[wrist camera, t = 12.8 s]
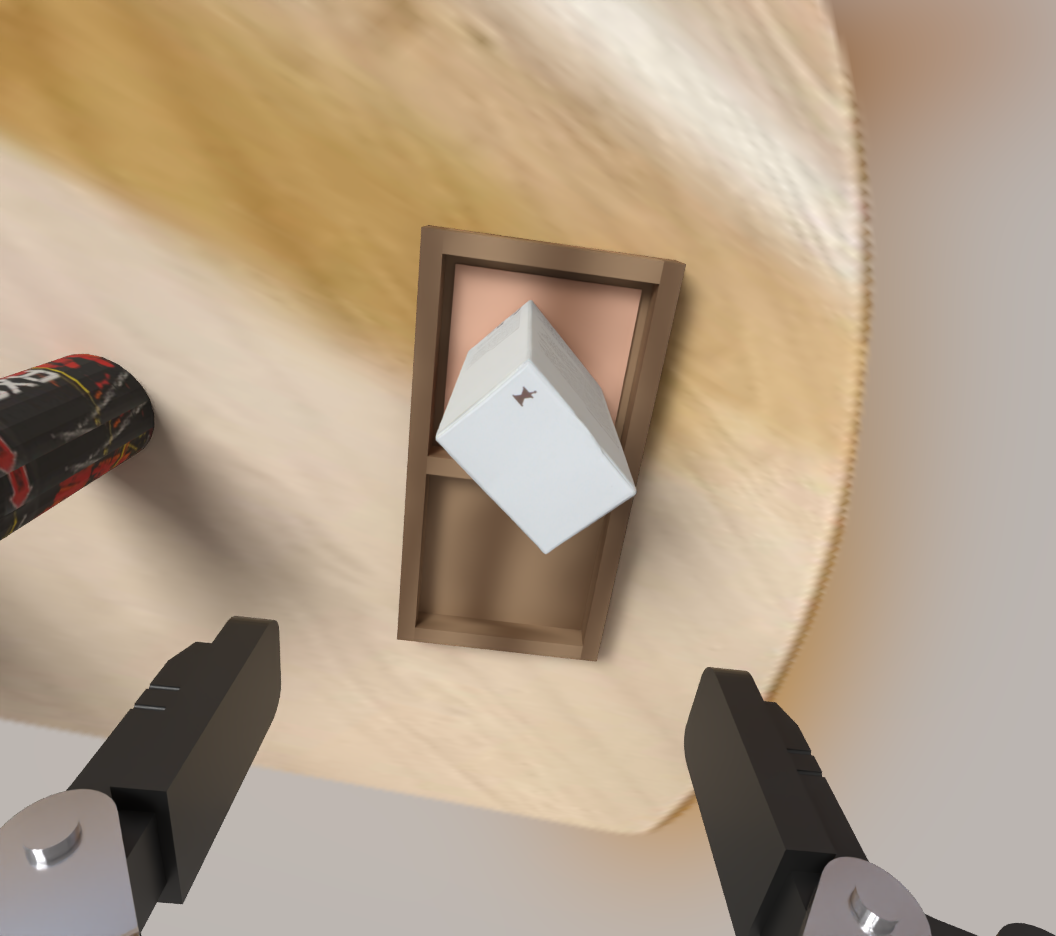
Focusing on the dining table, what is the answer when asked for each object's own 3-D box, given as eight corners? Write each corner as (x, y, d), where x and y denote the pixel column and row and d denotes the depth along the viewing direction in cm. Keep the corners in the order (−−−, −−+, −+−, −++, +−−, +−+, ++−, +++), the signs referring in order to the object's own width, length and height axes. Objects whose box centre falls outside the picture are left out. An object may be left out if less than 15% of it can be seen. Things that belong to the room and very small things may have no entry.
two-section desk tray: (403, 618, 38) (397, 639, 36) (428, 225, 29) (421, 226, 27) (593, 639, 39) (596, 661, 37) (676, 260, 30) (686, 264, 28)
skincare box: (465, 351, 31) (427, 435, 20) (530, 296, 30) (529, 352, 19) (540, 439, 33) (544, 560, 22) (605, 390, 32) (644, 492, 21)
